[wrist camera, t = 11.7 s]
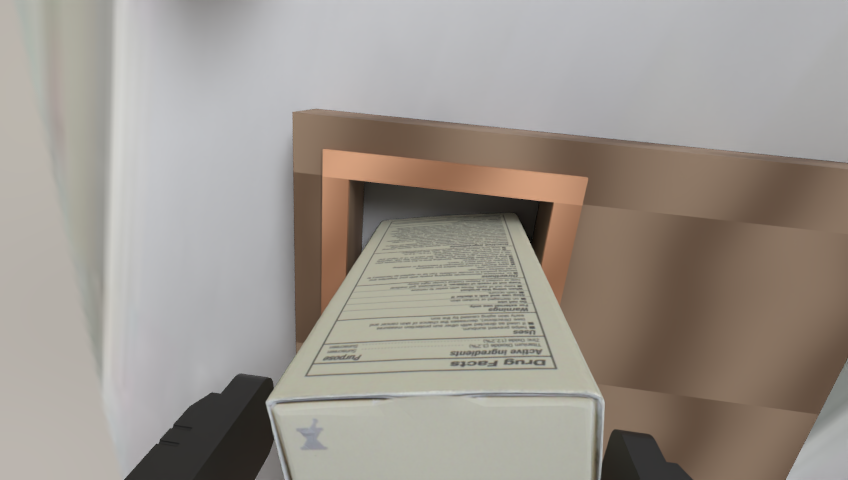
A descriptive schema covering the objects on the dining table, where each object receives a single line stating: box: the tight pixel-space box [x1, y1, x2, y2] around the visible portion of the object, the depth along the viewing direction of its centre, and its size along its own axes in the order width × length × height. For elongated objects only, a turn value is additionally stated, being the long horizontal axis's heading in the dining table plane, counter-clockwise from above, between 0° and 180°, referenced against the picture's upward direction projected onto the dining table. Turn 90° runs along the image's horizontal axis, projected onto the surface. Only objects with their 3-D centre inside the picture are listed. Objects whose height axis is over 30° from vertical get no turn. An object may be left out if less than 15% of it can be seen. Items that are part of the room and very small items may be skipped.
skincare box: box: [266, 213, 605, 480], centre depth 14 cm, size 6×4×12 cm
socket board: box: [293, 109, 848, 480], centre depth 20 cm, size 22×26×3 cm
